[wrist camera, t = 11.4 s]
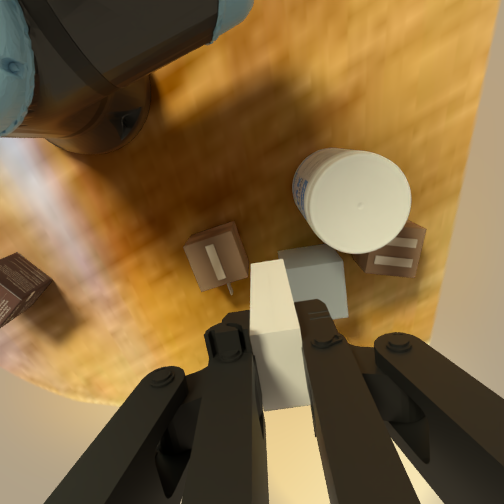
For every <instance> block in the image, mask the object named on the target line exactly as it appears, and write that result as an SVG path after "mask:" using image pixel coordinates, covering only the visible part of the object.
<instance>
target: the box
mask: <svg viewBox="0 0 504 504" xmlns="http://www.w3.org/2000/svg"><path fill="white" fill-rule="evenodd" d="M51 282H52V279H51V278H50V277H49V276H47V275H46V274H45V273H43V272H42V271H41V270H39V269H38V268H37V267H35V266H34V265H33V264H32V263H30V262H29V261H28V260H27V259H25V258H24V257H23V256H22V255H20V254H19V253H17V252H16V253H14V254H12V255H10V256H7V257H5V258H2V259H0V328H1V327H3V326H4V325H5V324H7V323H8V322H10V321H11V320H13V319H14V318H15V317H17V316H18V315H20V314H21V313H22V312H24V311H25V310H27V309H28V308H29V307H30V306H31V305H32V304H33V303H34V302H35V301H36V300H37V298H38V297H39V296H40V295H41V294H42V293H43V291H44V290H45V289H46V288H47V286H48V285H49V284H50V283H51Z"/></svg>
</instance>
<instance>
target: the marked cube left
mask: <svg viewBox="0 0 504 504" xmlns="http://www.w3.org/2000/svg"><path fill="white" fill-rule="evenodd" d="M183 248H184V250H185V253H186V255H187V258H188V260H189V263H190V265H191V268H192V270H193V273H194V275H195V278H196V280H197V283H198V285H199V287H200V290H201V292H203V291H206V290H209V289H212V288H215V287H218V286H222V285H225V284H227V286H228V289H229V291H230V294H231V295H233V290H232V287H231V284H230V283H231V282H234V281H237V280H241V279H244V278H247V277H248V269H249V261H248V258H247V255H246V253H245V250H244V247H243V244H242V241H241V239H240V236H239V233H238V230H237V227H236V225H235V222H234V221H232V222H229V223H226V224H223V225H220V226H217V227H214V228H211V229H208V230H205V231H202V232H199V233H196V234H193V235H191V236H190V238H189V239H188V241H187V242H186V243H185V245H184V246H183Z"/></svg>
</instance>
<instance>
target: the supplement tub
mask: <svg viewBox="0 0 504 504" xmlns="http://www.w3.org/2000/svg"><path fill="white" fill-rule="evenodd" d="M292 193H293V198H294V201H295V204H296V206H297V207H298V209H299V210H300V212H301V213H302V215H303V216H304V218H305V219H306V221H307V222H308V224H309V225H310V227H311V228H312V230H313V231H314V232H315V234H316V235H317V236H318V237H319V238H320V239H321V240H322V241H323V242H325V243H326V244H327V245H329V246H330V247H332V248H334V249H336V250H338V251H341V252H344V253H350V254H363V253H368V252H372V251H375V250H377V249H380V248H382V247H383V246H385V245H387V244H388V243H389V242H391V241H392V240H393V239H394V238H395V237H396V236H397V235H398V234H399V233H400V231H401V230H402V228H403V227H404V225H405V223H406V221H407V219H408V216H409V213H410V208H411V191H410V186H409V183H408V181H407V179H406V177H405V175H404V173H403V172H402V171H401V169H400V168H399V167H398V166H397V165H396V164H394V163H393V162H392V161H390V160H389V159H387V158H385V157H383V156H381V155H379V154H376V153H372V152H368V151H361V150H351V149H341V148H325V149H321V150H318V151H316V152H314V153H312V154H311V155H309V156H308V157H307V158H305V159H304V160H303V161H302V163H301V164H300V165H299V167H298V168H297V170H296V172H295V175H294V178H293V183H292Z"/></svg>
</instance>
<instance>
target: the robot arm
mask: <svg viewBox="0 0 504 504" xmlns="http://www.w3.org/2000/svg"><path fill="white" fill-rule="evenodd" d="M253 4H254V0H0V137H9V138H45V139H46V140H47V141H49V142H50V143H52V144H54V145H55V146H57V147H59V148H62V149H64V150H67V151H70V152H74V153H78V154H103V153H108V152H112V151H115V150H117V149H119V148H121V147H123V146H125V145H126V144H127V143H129V142H130V141H131V140H132V139H133V138H134V137H135V136H136V135H137V134H138V132H139V131H140V130H141V128H142V126H143V125H144V123H145V120H146V118H147V115H148V112H149V108H150V102H151V85H150V79H149V74H151V73H153V72H154V71H156V70H158V69H160V68H162V67H164V66H166V65H167V64H169V63H171V62H173V61H175V60H177V59H179V58H181V57H182V56H184V55H186V54H188V53H190V52H192V51H194V50H196V49H197V48H199V47H201V46H203V45H210V44H212V43H213V42H214V41H215V40H217V38H218V36H220V35H221V34H223V33H225V32H226V31H228V30H230V29H231V28H233V27H235V26H236V25H238V24H239V23H241V22H242V21H244V19H245V18H246V17H247V15H248V14H249V12H250V10H251V9H252V7H253ZM204 338H205V342H206V347H207V351H208V355H209V363H208V366H207V367H206V368H204V369H202V370H200V371H198V372H195V373H192V374H189V375H187V376H185V373H184V370H183V369H181V368H180V367H175V366H168V367H161V368H158V369H156V370H154V371H153V372H151V373H149V374H148V375H146V376H145V377H144V378H143V379H142V380H141V382H140V383H139V384H138V385H137V387H136V388H135V389H134V390H133V392H132V393H131V394H130V395H129V397H128V398H127V399H126V401H125V402H124V403H123V404H122V406H121V407H120V408H119V409H118V411H117V412H116V413H115V414H114V416H113V417H112V418H111V420H110V421H109V422H108V423H107V424H106V426H105V427H104V428H103V429H102V431H101V432H100V433H99V435H98V436H97V437H96V438H95V440H94V441H93V442H92V443H91V445H90V446H89V447H88V448H87V450H86V451H85V452H84V453H83V455H82V456H81V457H80V458H79V460H78V461H77V462H76V463H75V465H74V466H73V467H72V468H71V470H70V471H69V472H68V474H67V475H66V476H65V477H64V479H63V480H62V481H61V483H60V484H59V485H58V486H57V488H56V489H55V490H54V491H53V492H52V494H51V495H50V496H49V497H48V499H47V500H46V501H45V503H44V504H180V501H181V499H182V503H181V504H269V493H268V472H267V451H266V429H265V419H264V414H263V409H264V411H271V410H278V409H285V408H293V407H300V406H308V405H311V411H312V418H313V425H314V432H315V437H317V441H318V446H319V451H320V456H321V460H322V465H323V470H324V475H325V480H326V485H327V489H328V494H329V499H330V503H331V504H420V501H419V499H418V497H417V495H416V493H415V490H414V488H413V486H412V484H411V481H410V479H409V477H408V475H407V473H406V471H405V468H404V466H403V464H402V462H401V460H400V457H399V455H398V453H397V451H396V448H395V446H394V444H393V442H392V440H391V438H392V439H393V441H394V442H395V443H396V444H397V445H398V447H399V448H400V449H401V451H402V452H403V453H404V454H405V456H406V457H407V458H408V459H409V460H410V462H411V463H412V464H413V465H414V467H415V468H416V469H417V470H418V471H419V473H420V474H421V475H422V477H423V478H424V479H425V480H426V482H427V483H428V484H429V485H430V486H431V488H432V489H433V490H434V491H435V493H436V494H437V495H438V496H439V498H440V499H441V500H442V501H443V502H444V504H504V399H503V398H501V397H500V396H499V395H497V394H496V393H494V392H493V391H492V390H490V389H489V388H487V387H486V386H485V385H483V384H482V383H480V382H479V381H478V380H476V379H475V378H474V377H472V376H471V375H469V374H468V373H467V372H465V371H464V370H462V369H461V368H460V367H458V366H457V365H455V364H454V363H453V362H451V361H450V360H449V359H447V358H446V357H444V356H443V355H442V354H440V353H439V352H437V351H436V350H434V349H433V348H432V347H430V346H429V345H428V344H426V343H425V342H423V341H422V340H421V339H419V338H417V337H415V336H413V335H410V334H406V333H400V332H398V333H397V332H393V333H388V334H384V335H382V336H380V337H378V338H377V339H376V340H375V342H374V347H359V346H354V345H351V344H348V343H347V340H346V339H345V337H344V336H343V335H342V334H339V333H338V331H337V329H336V327H335V325H334V322H333V320H332V318H331V315H330V313H329V311H328V308H327V306H326V304H325V303H324V302H322V301H321V300H319V299H312V300H305V301H299V302H293V298H292V294H291V289H290V285H289V281H288V277H287V273H286V269H285V265H284V261H283V259H278V260H272V261H266V262H259V263H253V264H251V286H250V310H245V311H239V312H232V313H228V314H227V315H226V316H225V317H224V318H223V320H222V323H219V324H217V325H214V326H212V327H211V328H209V329H208V330H207V331H206V332H205V334H204ZM182 497H183V498H182Z"/></svg>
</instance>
